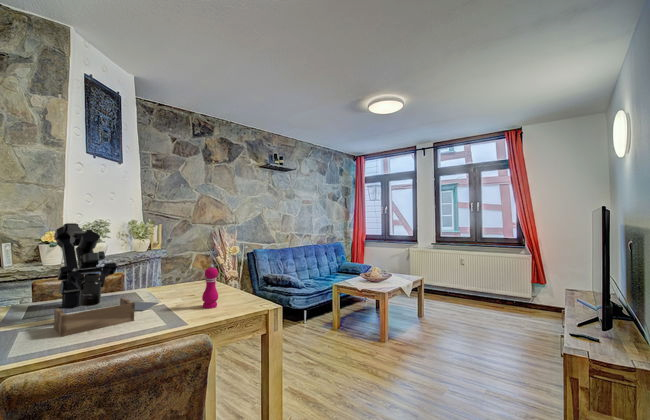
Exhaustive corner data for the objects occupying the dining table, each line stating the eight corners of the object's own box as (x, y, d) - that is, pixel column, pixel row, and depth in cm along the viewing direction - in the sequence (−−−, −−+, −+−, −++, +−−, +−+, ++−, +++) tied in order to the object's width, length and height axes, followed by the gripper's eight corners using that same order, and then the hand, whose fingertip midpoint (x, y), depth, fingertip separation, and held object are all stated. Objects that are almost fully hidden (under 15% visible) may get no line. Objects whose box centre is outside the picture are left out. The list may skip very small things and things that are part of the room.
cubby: (53, 327, 112) (54, 308, 112) (122, 313, 130) (123, 297, 130) (61, 336, 104) (62, 316, 105) (134, 320, 122) (134, 303, 122)
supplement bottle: (82, 307, 117) (83, 276, 117) (76, 303, 121) (78, 273, 121) (103, 304, 123) (104, 274, 123) (97, 300, 127) (99, 271, 127)
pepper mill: (220, 305, 147) (222, 263, 147) (213, 309, 140) (215, 265, 140) (206, 304, 147) (208, 262, 148) (198, 308, 140) (200, 265, 141)
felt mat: (116, 310, 134) (116, 309, 134) (133, 302, 146) (134, 301, 146) (142, 311, 134) (142, 310, 134) (158, 303, 146) (158, 302, 146)
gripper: (61, 246, 117) (66, 279, 110) (116, 243, 132) (124, 273, 125) (55, 263, 122) (60, 296, 115) (109, 259, 137) (116, 288, 130)
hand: (92, 288), depth 121 cm, fingers closed on supplement bottle, 7 cm apart
